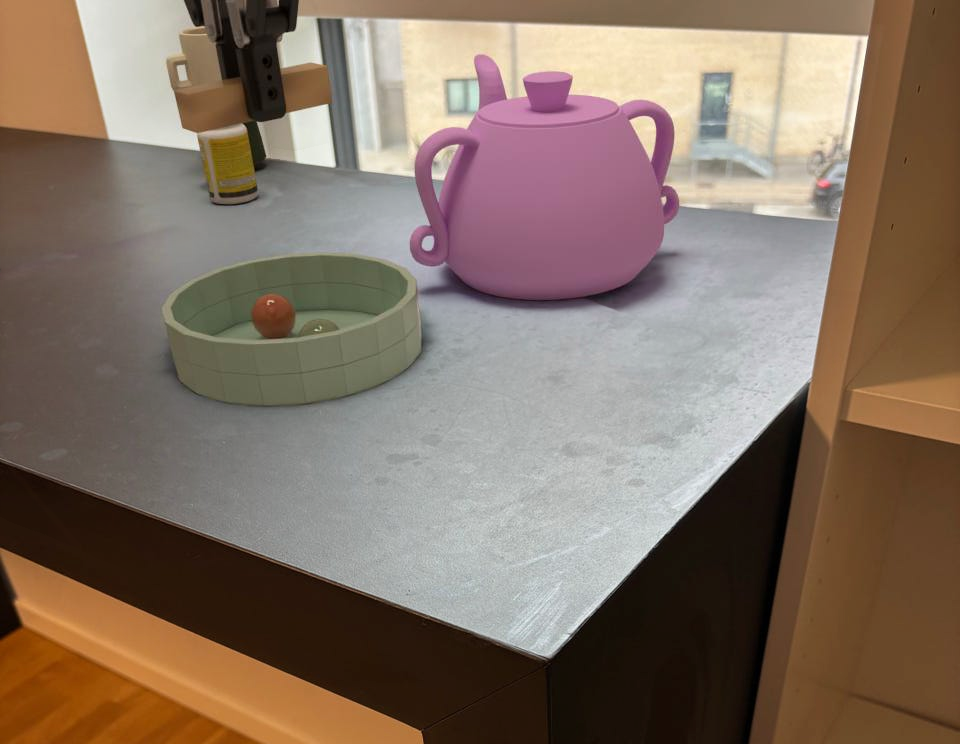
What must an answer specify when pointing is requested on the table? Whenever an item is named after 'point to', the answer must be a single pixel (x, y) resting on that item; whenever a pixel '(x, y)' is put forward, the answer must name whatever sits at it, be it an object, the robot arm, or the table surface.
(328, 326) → the sage bead
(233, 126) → the supplement bottle
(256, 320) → the terracotta bead
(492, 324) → the table surface
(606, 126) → the teapot
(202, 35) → the character mug
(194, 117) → the wooden block
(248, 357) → the bowl
